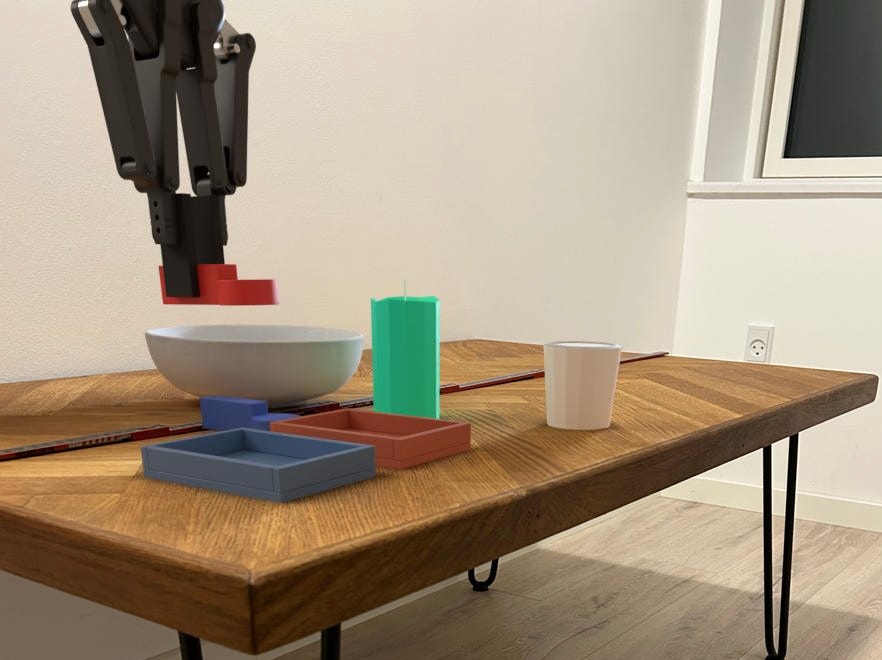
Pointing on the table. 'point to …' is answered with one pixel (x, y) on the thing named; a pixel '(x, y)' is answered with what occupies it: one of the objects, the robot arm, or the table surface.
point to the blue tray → (259, 463)
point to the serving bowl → (256, 360)
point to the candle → (406, 355)
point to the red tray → (385, 434)
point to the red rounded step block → (225, 288)
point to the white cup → (580, 383)
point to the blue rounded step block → (237, 413)
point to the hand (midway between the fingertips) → (197, 295)
